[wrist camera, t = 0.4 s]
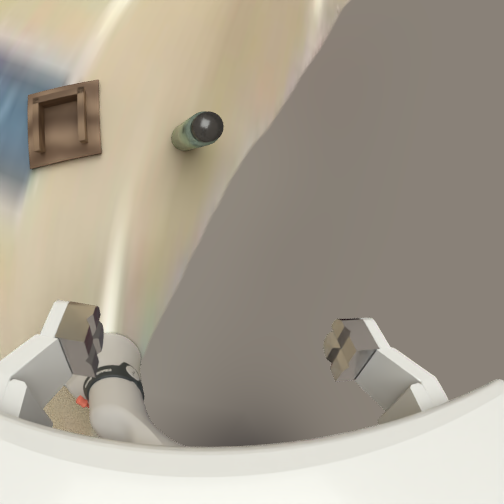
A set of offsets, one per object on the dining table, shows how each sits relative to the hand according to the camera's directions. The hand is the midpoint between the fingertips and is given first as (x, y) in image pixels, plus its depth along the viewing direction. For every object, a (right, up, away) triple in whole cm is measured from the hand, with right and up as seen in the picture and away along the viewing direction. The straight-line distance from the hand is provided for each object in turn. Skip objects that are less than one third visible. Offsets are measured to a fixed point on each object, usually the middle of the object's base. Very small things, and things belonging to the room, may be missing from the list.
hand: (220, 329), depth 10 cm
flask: (-12, +26, +46) cm, 54 cm away
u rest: (-35, +27, +34) cm, 56 cm away
